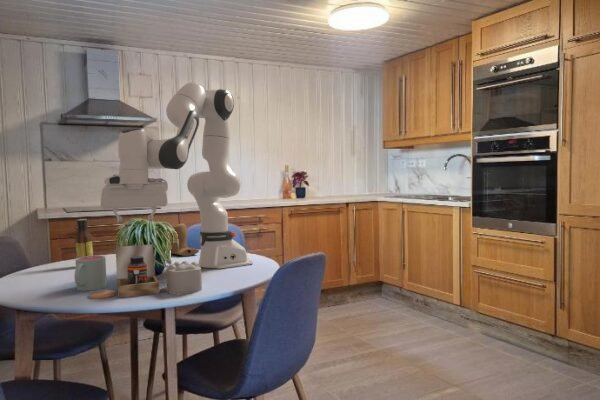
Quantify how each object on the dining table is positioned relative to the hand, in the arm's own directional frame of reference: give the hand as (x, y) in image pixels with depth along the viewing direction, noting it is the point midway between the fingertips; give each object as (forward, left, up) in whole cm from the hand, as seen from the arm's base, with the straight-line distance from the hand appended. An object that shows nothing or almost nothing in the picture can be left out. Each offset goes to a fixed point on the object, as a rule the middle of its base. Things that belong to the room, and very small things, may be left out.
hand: (135, 221), depth 149 cm
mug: (+15, -12, -23) cm, 30 cm away
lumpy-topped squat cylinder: (-14, +3, -23) cm, 27 cm away
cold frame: (0, -2, -23) cm, 23 cm away
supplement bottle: (0, 0, -23) cm, 23 cm away
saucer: (+10, 0, -23) cm, 25 cm away
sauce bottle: (+17, -56, -23) cm, 62 cm away
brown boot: (-24, -66, -23) cm, 73 cm away
